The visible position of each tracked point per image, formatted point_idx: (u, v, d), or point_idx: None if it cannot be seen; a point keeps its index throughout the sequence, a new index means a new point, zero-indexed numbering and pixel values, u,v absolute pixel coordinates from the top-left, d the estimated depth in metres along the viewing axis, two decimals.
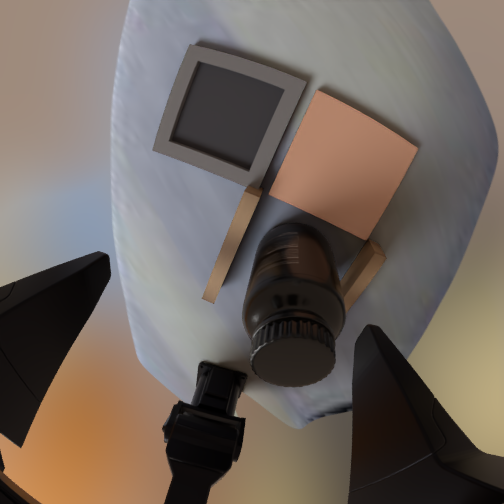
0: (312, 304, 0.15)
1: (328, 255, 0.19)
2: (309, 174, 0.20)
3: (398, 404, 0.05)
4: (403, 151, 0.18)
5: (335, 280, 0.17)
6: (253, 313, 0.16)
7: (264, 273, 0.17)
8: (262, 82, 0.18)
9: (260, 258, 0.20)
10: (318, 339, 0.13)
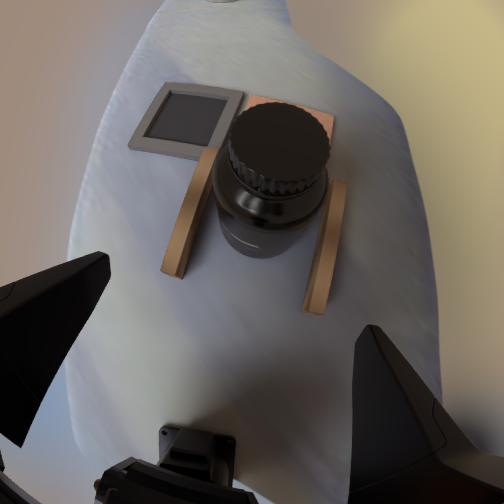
0: None
1: None
2: None
3: (398, 404, 0.05)
4: (323, 118, 0.25)
5: None
6: (225, 152, 0.14)
7: None
8: (213, 98, 0.26)
9: None
10: None
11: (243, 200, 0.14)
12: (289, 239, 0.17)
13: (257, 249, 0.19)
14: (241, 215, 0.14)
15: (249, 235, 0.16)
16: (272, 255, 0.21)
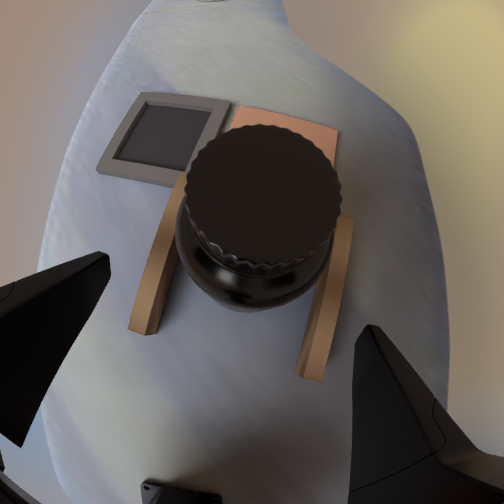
0: None
1: None
2: None
3: (398, 404, 0.05)
4: (325, 134, 0.22)
5: None
6: None
7: None
8: (195, 110, 0.22)
9: None
10: None
11: (213, 272, 0.10)
12: None
13: None
14: (211, 290, 0.10)
15: (227, 305, 0.12)
16: None
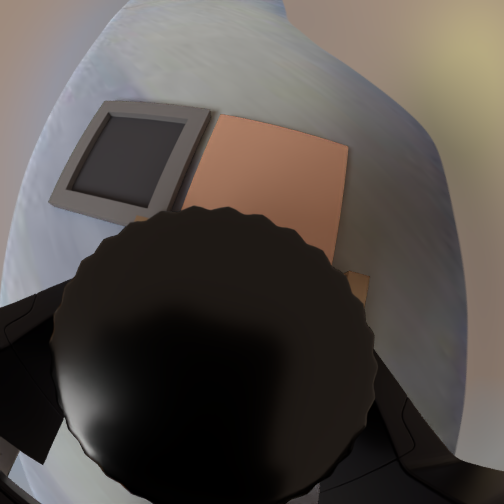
0: None
1: None
2: (224, 197, 0.16)
3: None
4: (333, 152, 0.17)
5: None
6: None
7: None
8: (166, 122, 0.18)
9: None
10: (265, 219, 0.04)
11: None
12: None
13: None
14: None
15: None
16: None
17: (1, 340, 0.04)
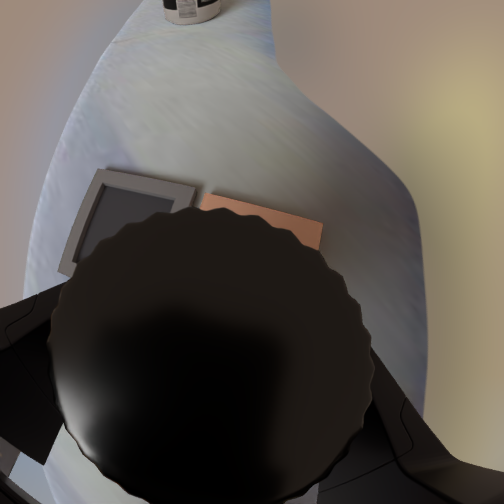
0: None
1: None
2: None
3: None
4: (307, 231, 0.20)
5: None
6: None
7: None
8: (156, 197, 0.20)
9: None
10: (261, 220, 0.04)
11: None
12: None
13: None
14: None
15: None
16: None
17: (2, 341, 0.03)
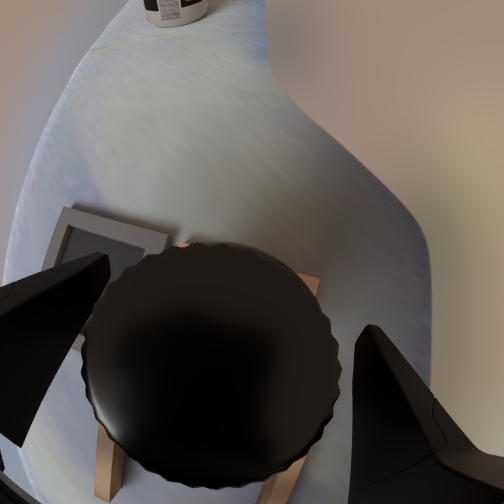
0: None
1: None
2: None
3: (398, 404, 0.05)
4: None
5: None
6: None
7: None
8: (125, 244, 0.17)
9: None
10: None
11: None
12: None
13: None
14: None
15: None
16: None
17: None
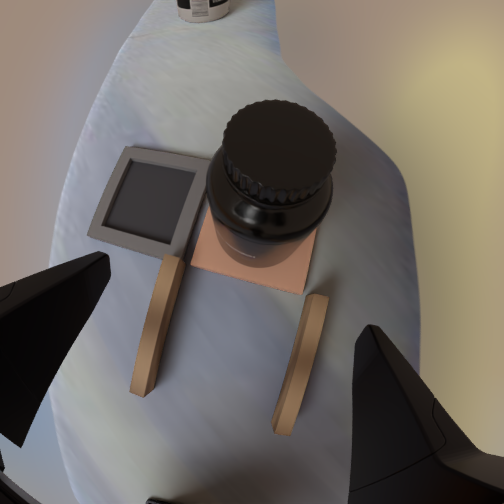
0: None
1: None
2: None
3: (398, 404, 0.05)
4: None
5: None
6: (220, 155, 0.13)
7: None
8: (179, 170, 0.24)
9: None
10: None
11: (239, 209, 0.13)
12: (289, 250, 0.16)
13: (255, 259, 0.18)
14: (236, 226, 0.13)
15: (246, 246, 0.15)
16: (271, 265, 0.20)
17: None
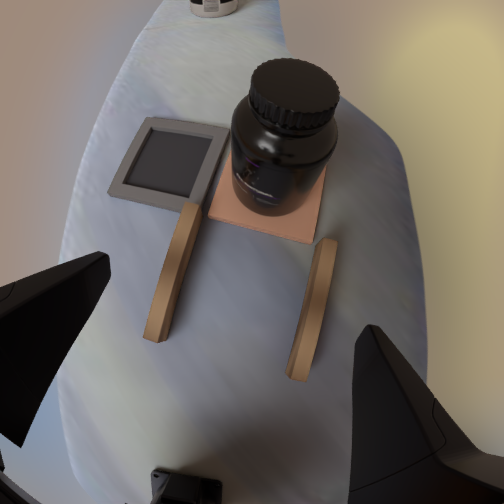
0: None
1: None
2: None
3: (398, 404, 0.05)
4: None
5: None
6: (244, 102, 0.15)
7: None
8: (197, 137, 0.25)
9: None
10: None
11: (262, 138, 0.14)
12: (302, 187, 0.18)
13: (270, 200, 0.19)
14: (259, 153, 0.15)
15: (265, 178, 0.17)
16: (283, 212, 0.22)
17: None
